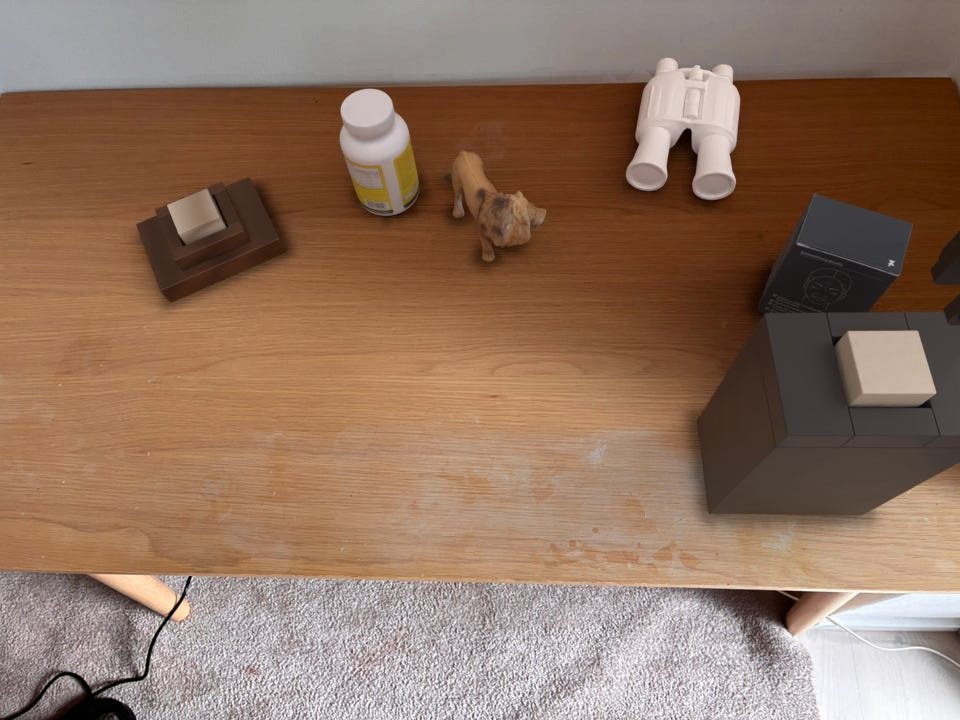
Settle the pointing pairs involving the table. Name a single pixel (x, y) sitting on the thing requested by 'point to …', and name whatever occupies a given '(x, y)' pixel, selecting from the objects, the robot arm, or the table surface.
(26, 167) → the table surface
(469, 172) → the lion figurine
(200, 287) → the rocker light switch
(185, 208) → the key far
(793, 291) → the box
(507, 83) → the table surface
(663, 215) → the table surface
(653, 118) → the binoculars
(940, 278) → the robot arm
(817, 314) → the dark block with slot
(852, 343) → the key near
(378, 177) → the pill bottle
